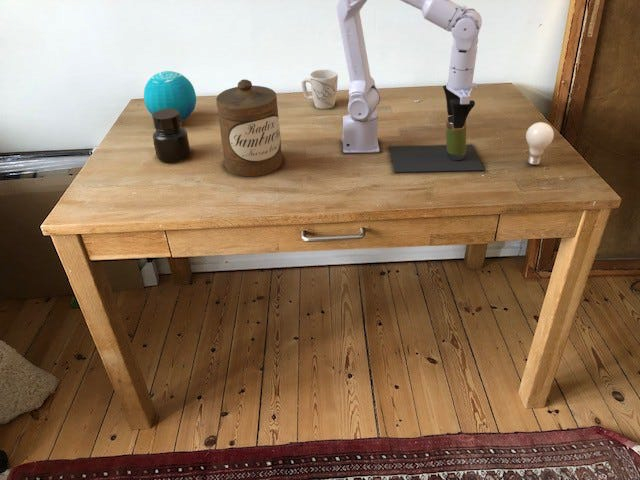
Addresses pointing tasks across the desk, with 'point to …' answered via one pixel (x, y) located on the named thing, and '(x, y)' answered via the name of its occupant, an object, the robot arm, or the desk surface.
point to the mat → (432, 159)
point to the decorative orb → (170, 93)
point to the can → (455, 140)
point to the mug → (322, 88)
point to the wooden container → (249, 129)
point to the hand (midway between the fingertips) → (455, 121)
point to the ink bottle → (170, 136)
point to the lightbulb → (538, 140)
